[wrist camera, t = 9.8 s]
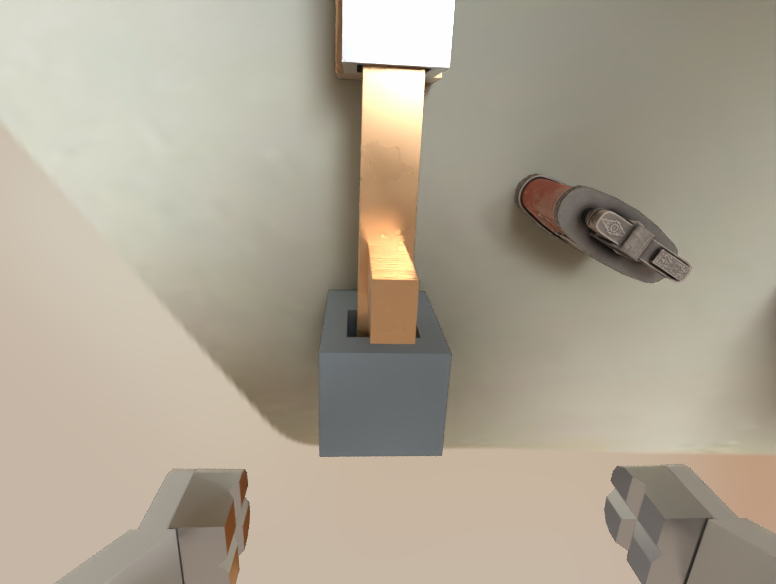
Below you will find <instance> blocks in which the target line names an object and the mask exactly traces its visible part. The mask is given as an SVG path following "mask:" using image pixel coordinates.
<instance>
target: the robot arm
mask: <svg viewBox="0 0 776 584" xmlns="http://www.w3.org/2000/svg"><path fill="white" fill-rule="evenodd" d="M611 482H612V484H613V485H614V487H615V489H614V490H613V491H612V492H611V493H610V494H609V495H608V496H607V498H606V503H605V508H604V511H605V519H606V524H607V526H608V529H609V532H610V534H611V535H612V537H613V539H614V540H615V542H616V543H618V544H619V545H621V546H622V547H623V548H625V549H626V550H628V555H627V561H628V563H629V564H630V566H631V568H632V569H633V571H634V572H635V574H636V575H637V577H638V579H639V580H640V582H641V583H642V584H776V534H775V533H773V532H771V531H769V530H767V529H765V528H764V527H762V526H760V525H758V524H756V523H754V522H752V521H750V520H748V519H746V518H738V517H737V516H736V514H735V513H734V512H732V510H731V509H730V508H729V507H728V506H727V505H726V504H725V503H724V502H723V501H721V499H720V498H719V497H718V496H717V495H716V494H715V493H714V492H713V491H712V490H711V489H710V488H709V487H708V486H707V485H706V484H705V483H704V482H703V481H702V480H701V479H700V478H699V477H698V476H697V475H696V474H695V473H694V472H693V470H691V468H689V467H687V466H686V465H684V464H667V465H643V466H617V467H616V468H615V470H614V471H613V473H612V477H611ZM247 487H248V479H247V472H246V470H245V469H173V470H171V471H170V472H169V473H168V474H167V476H166V478H165V480H164V482H163V483H162V485H161V487H160V489H159V491H158V493H157V494H156V496H155V498H154V500H153V502H152V504H151V506H150V508H149V509H148V511H147V513H146V515H145V517H144V519H143V521H142V522H141V524H140V526H139V528H138V530H129V531H128V532H126V533H125V534H123V535H122V536H120V537H119V538H118V539H116V540H115V541H114V542H112V543H111V544H109V545H108V546H106V547H105V548H103V549H102V550H101V551H99V552H98V553H96V554H95V555H93V556H92V557H91V558H89V559H88V560H86V561H85V562H84V563H82V564H81V565H79V566H78V567H77V568H75V569H74V570H72V571H71V572H69V573H68V574H67V575H65V576H64V577H62V578H61V579H60V580H58V581H57V582H56V583H54V584H236V581H237V577H238V573H239V557H238V556H239V555H240V554H241V553H242V552H243V551H244V549H245V545H246V541H247V537H248V530H249V520H250V506H249V501H248V500H247V499H246V498H245V494H246V490H247Z"/></svg>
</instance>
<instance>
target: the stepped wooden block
mask: <svg viewBox="0 0 776 584" xmlns="http://www.w3.org/2000/svg"><path fill="white" fill-rule="evenodd" d="M424 83H425V68H415V67H397V66H379V65H363V72H362V115H361V159H360V203H359V247H358V291H357V335H356V337H370V344H415V337H416V322H417V307H418V292H419V278H418V276H417V273H416V271H415V269H414V266H413V261H414V245H415V229H416V212H417V196H418V180H419V164H420V148H421V132H422V115H423V99H424Z"/></svg>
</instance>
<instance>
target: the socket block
mask: <svg viewBox="0 0 776 584" xmlns="http://www.w3.org/2000/svg"><path fill="white" fill-rule="evenodd" d="M356 335H357V291H354V290H329V293H328V299H327V305H326V312H325V318H324V324H323V331H322V337H321V343H320V350H319V450H320V457H334V456H335V457H338V456H441V455H442V450H443V439H444V429H445V418H446V408H447V397H448V387H449V376H450V366H451V355H452V354H451V351H450V349H449V347H448V344H447V342H446V340H445V337H444V335H443V333H442V330H441V328H440V325H439V323H438V321H437V318H436V316H435V314H434V311H433V309H432V307H431V304H430V302H429V300H428V297H427V295H426V293H425V292H418V307H417V322H416V337H415V344H370V337H356Z"/></svg>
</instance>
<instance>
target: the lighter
mask: <svg viewBox="0 0 776 584" xmlns="http://www.w3.org/2000/svg"><path fill="white" fill-rule="evenodd" d="M515 201H516V204H517V206H518V207H519V208H520V209H521V210H522V211H523V212H524V213H525V214H526V215H527V216H528V217H529V218H530V219H531V220H532V221H533V222H534V223H535V224H537V225H538V226H539V227H541V228H542V229H543V230H545V231H546V232H547V233H549V234H550V235H552V236H554V237H556V238H557V239H559V240H561V241H563V242H565V243H567V244H569V245H571V246H572V247H574V248H576V249H577V250H579V251H581V252H583V253H585V254H587V255H588V256H590V257H592V258H594V259H595V260H597V261H599V262H601V263H603V264H604V265H606V266H608V267H610V268H612V269H614V270H616V271H618V272H619V273H621V274H623V275H626V276H629V277H632V278H634V279H637V280H640V281H642V282H645V283H654V282H658V281H660V280H662V279H664V278H665V277H666V278H668V279H670V280H672V281H674V282H681V281H683V280H684V279H685V278H686V277H687V276H688V275H689V273H690V271H691V265H690V264H689V263H688V262H687V261H685V260H684V259H682V258H681V257H679V256H678V252H677V248H676V247H675V245H674V244H673V243H672V241H671V240H670V239H669V238H668V237H667V236H666V235H665V234H664V233H663V231H662V230H661V229H660V228H659V227H658V226H657V225H655V224H654V223H653V222H652V221H651V220H649V219H648V218H647V217H646V216H644V215H643V214H642V213H641V212H640V211H638V210H636V209H635V208H633V207H631V206H629V205H628V204H626V203H624V202H622V201H621V200H619V199H617V198H615V197H613V196H610V195H608V194H605V193H603V192H600V191H598V190H595V189H593V188H589V187H586V186H579V185H578V186H574V187H572V186H568V185H566V184H564V183H562V182H559V181H557V180H554V179H552V178H549V177H547V176H543V175H539V174H533V175H529V176H528V177H526V178H524V179H523V180H522V181H521V182H520V184H519V185H518V187H517V189H516V193H515Z"/></svg>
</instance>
